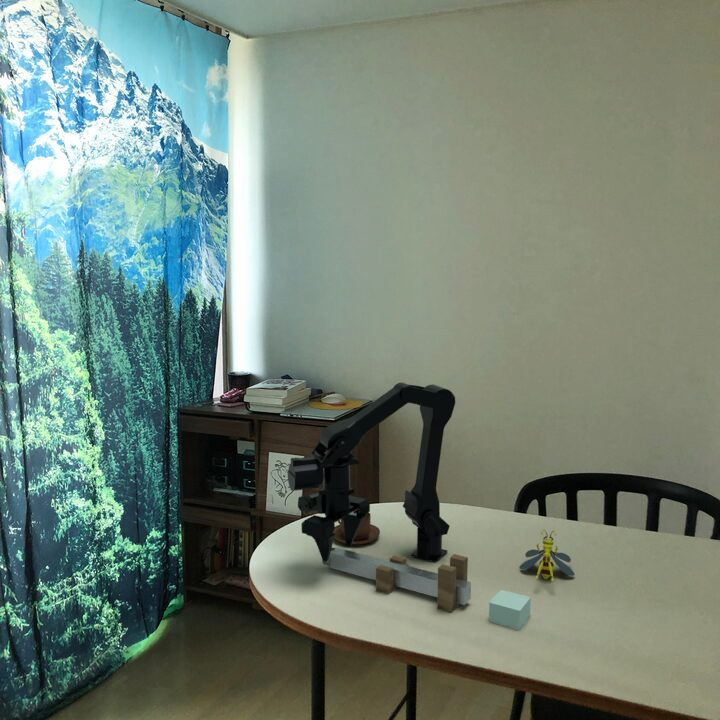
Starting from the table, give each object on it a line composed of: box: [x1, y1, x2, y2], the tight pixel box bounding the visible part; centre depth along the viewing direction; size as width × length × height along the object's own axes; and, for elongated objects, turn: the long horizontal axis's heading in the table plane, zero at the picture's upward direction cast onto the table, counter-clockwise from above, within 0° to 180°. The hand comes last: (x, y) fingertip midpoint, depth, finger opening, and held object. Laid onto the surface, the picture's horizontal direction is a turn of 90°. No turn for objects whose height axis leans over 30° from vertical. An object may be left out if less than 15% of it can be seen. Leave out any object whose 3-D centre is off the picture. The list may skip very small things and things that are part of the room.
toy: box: [518, 529, 575, 582], centre depth 152 cm, size 12×8×15 cm
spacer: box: [488, 589, 532, 631], centre depth 135 cm, size 6×6×4 cm
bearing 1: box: [375, 554, 407, 596], centre depth 148 cm, size 8×3×5 cm, turn 148°
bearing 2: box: [436, 553, 469, 613], centre depth 141 cm, size 8×3×8 cm, turn 148°
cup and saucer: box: [333, 512, 381, 545], centre depth 173 cm, size 12×12×6 cm
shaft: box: [321, 546, 472, 606], centre depth 148 cm, size 4×34×4 cm, turn 58°
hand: (337, 553), depth 155 cm, fingers open, 9 cm apart
